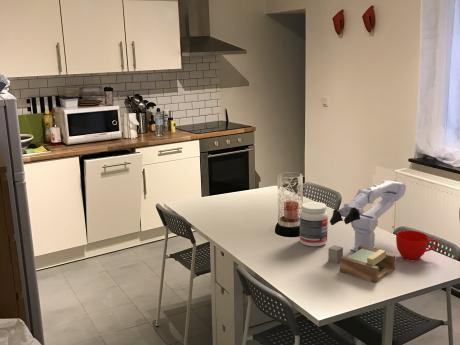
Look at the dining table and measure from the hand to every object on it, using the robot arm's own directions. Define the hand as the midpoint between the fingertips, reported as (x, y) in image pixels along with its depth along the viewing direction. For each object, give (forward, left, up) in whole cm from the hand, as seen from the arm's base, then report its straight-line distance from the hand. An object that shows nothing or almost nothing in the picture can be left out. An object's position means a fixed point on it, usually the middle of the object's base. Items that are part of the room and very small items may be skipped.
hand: (338, 222), depth 213 cm
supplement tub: (-14, -21, -19) cm, 31 cm away
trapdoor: (-2, +12, -13) cm, 18 cm away
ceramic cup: (-26, +23, -19) cm, 40 cm away
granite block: (-2, -2, -19) cm, 19 cm away
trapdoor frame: (-2, +13, -18) cm, 23 cm away
